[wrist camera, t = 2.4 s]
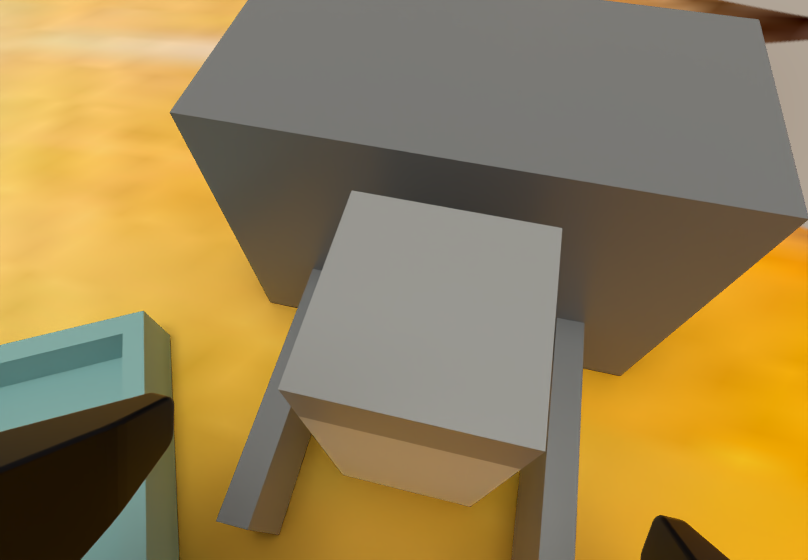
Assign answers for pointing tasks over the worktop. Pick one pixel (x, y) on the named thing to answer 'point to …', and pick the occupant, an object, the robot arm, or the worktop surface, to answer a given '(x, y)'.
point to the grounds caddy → (429, 347)
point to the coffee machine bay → (497, 177)
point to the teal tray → (94, 386)
